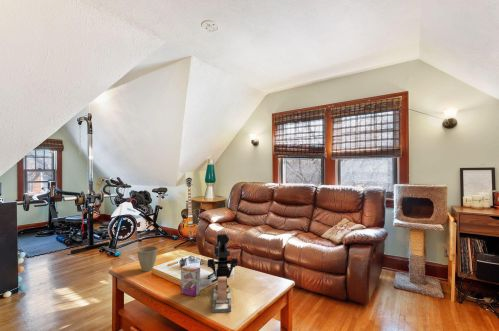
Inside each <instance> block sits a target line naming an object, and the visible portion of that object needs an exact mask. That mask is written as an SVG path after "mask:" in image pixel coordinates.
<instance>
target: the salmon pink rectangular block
mask: <svg viewBox="0 0 499 331" xmlns="http://www.w3.org/2000/svg"><path fill="white" fill-rule="evenodd" d="M217 285H218V287H217V292H218V295H217V300H216V303H228V299H227V289H228V287H227V285H228V278H227V277H218V279H217Z"/></svg>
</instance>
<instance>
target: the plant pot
mask: <svg viewBox="0 0 499 331" xmlns="http://www.w3.org/2000/svg"><path fill="white" fill-rule="evenodd" d="M158 250H159V247H158V246H153V245H148V246H147V245H146V246H142V247H141V246H140V247H139V248H137V256H138V261H139V262H138V263H139V265H140V269H141V271H142V272H150V271H152V270H153V269H152V268H154V267H155V263H156V260H157V256H158Z"/></svg>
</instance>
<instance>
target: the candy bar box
mask: <svg viewBox="0 0 499 331" xmlns="http://www.w3.org/2000/svg"><path fill="white" fill-rule="evenodd" d="M180 294H182V295H186V296H190V297H191V296H192V297H198V296H199V295H200V294H201V267H200V266H193V265H187V264H184V265H183V266H182V267H181V268H180Z"/></svg>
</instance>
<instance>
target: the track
mask: <svg viewBox="0 0 499 331" xmlns="http://www.w3.org/2000/svg"><path fill="white" fill-rule="evenodd" d="M227 289H228V291H227V299H228V303H216V300H217V295H218V291H217V289H216V288H214V289H213V298H212V313H225V312H227V313H228V312H232V297H231V296H232V293H231V292H232V291H231V288H227Z"/></svg>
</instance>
